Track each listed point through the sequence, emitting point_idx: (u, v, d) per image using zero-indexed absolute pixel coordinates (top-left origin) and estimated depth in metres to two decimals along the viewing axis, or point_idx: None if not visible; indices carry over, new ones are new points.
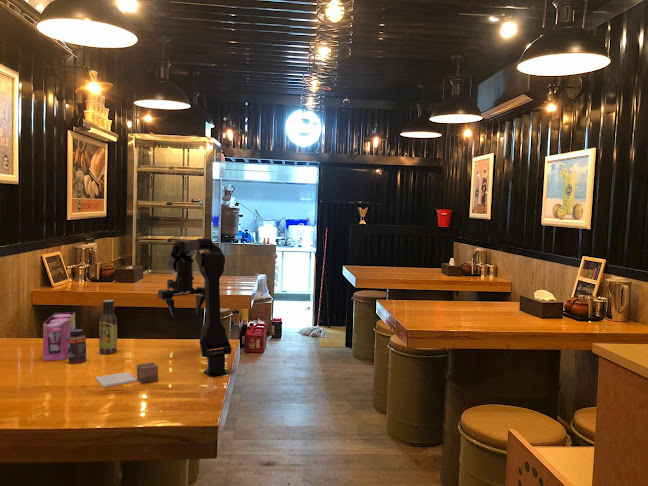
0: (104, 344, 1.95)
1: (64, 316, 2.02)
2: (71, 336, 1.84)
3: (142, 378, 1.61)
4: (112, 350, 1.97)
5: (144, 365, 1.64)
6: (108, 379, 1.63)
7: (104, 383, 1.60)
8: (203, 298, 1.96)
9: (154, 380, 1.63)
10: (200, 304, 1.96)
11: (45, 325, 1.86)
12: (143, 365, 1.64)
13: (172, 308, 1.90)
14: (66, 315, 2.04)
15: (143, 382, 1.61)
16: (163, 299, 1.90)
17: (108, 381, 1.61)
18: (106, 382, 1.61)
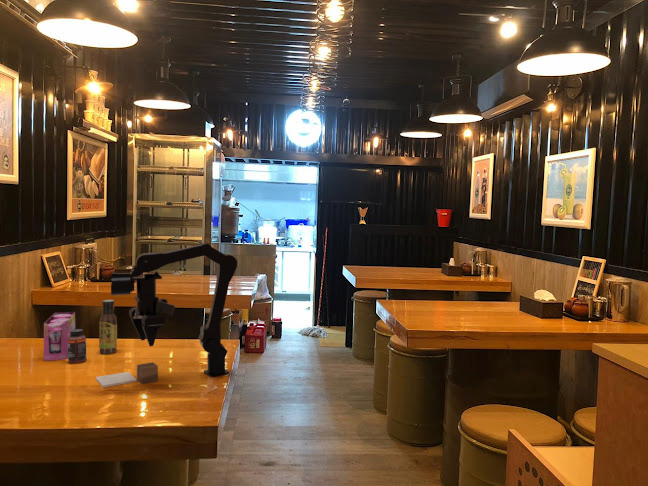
0: (104, 344, 1.95)
1: (64, 316, 2.02)
2: (71, 336, 1.84)
3: (142, 378, 1.61)
4: (112, 350, 1.97)
5: (144, 365, 1.64)
6: (108, 379, 1.63)
7: (104, 383, 1.60)
8: (143, 327, 1.57)
9: (154, 380, 1.63)
10: (145, 334, 1.58)
11: (46, 325, 1.86)
12: (143, 365, 1.64)
13: (136, 329, 1.67)
14: (66, 315, 2.04)
15: (143, 382, 1.61)
16: None
17: (108, 381, 1.61)
18: (106, 382, 1.61)
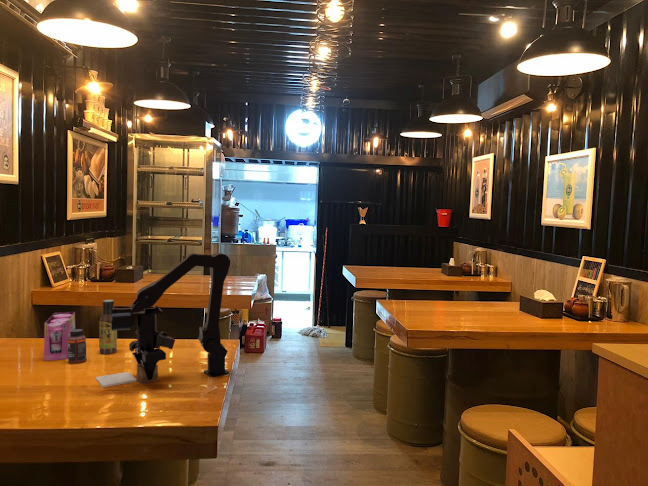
0: (104, 344, 1.95)
1: (64, 316, 2.03)
2: (71, 336, 1.84)
3: (142, 378, 1.61)
4: (112, 350, 1.97)
5: None
6: (108, 379, 1.63)
7: (104, 383, 1.60)
8: (141, 362, 1.59)
9: (154, 380, 1.63)
10: None
11: (46, 325, 1.86)
12: None
13: None
14: (66, 315, 2.05)
15: (143, 382, 1.61)
16: None
17: (108, 381, 1.61)
18: (106, 382, 1.61)
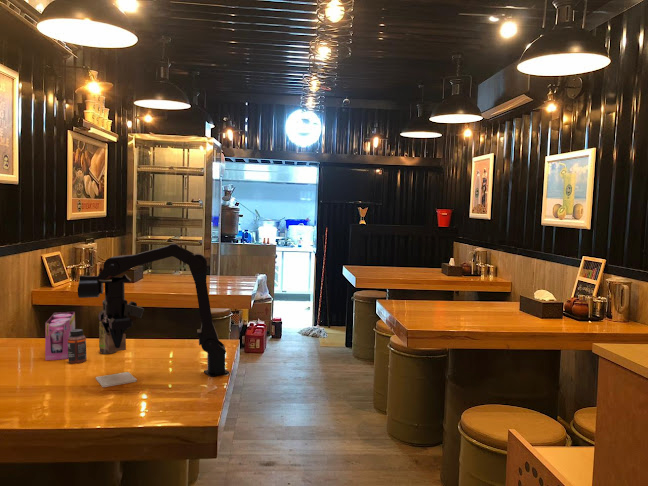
0: (104, 344, 1.95)
1: (64, 316, 2.03)
2: (71, 336, 1.84)
3: (109, 346, 1.61)
4: None
5: None
6: (108, 379, 1.63)
7: (104, 383, 1.60)
8: (109, 329, 1.59)
9: (122, 348, 1.63)
10: (111, 336, 1.60)
11: (47, 325, 1.86)
12: None
13: None
14: (66, 315, 2.05)
15: (110, 350, 1.61)
16: None
17: (108, 381, 1.61)
18: (106, 382, 1.61)
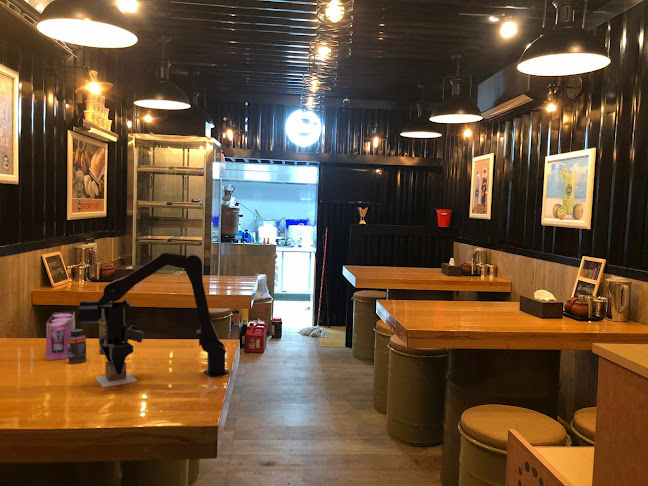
0: None
1: (65, 316, 2.03)
2: (71, 336, 1.84)
3: (110, 375, 1.61)
4: None
5: (112, 362, 1.64)
6: None
7: (104, 383, 1.60)
8: (110, 356, 1.58)
9: (122, 377, 1.63)
10: None
11: (48, 324, 1.87)
12: (111, 362, 1.64)
13: (106, 357, 1.67)
14: (66, 315, 2.05)
15: (111, 379, 1.61)
16: None
17: (108, 381, 1.61)
18: (106, 382, 1.61)
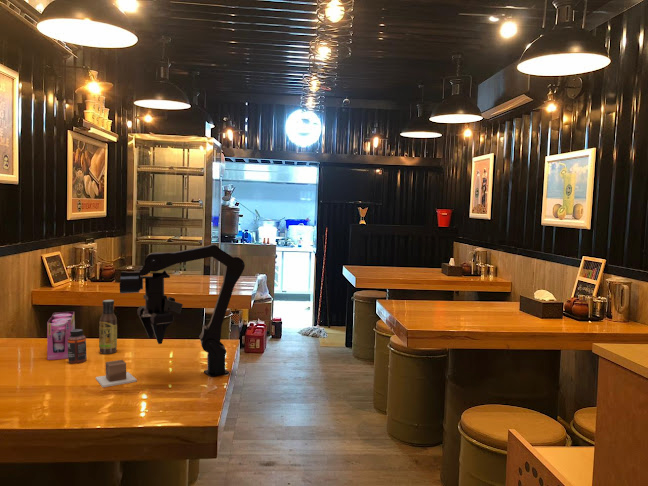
0: (104, 344, 1.95)
1: (65, 315, 2.03)
2: (71, 336, 1.84)
3: (110, 375, 1.61)
4: (112, 350, 1.97)
5: (112, 362, 1.64)
6: None
7: (104, 383, 1.60)
8: (152, 325, 1.59)
9: (122, 377, 1.63)
10: (154, 332, 1.61)
11: (49, 324, 1.87)
12: (111, 362, 1.64)
13: (144, 327, 1.70)
14: (66, 314, 2.05)
15: (111, 379, 1.61)
16: None
17: (108, 381, 1.61)
18: (106, 382, 1.61)
